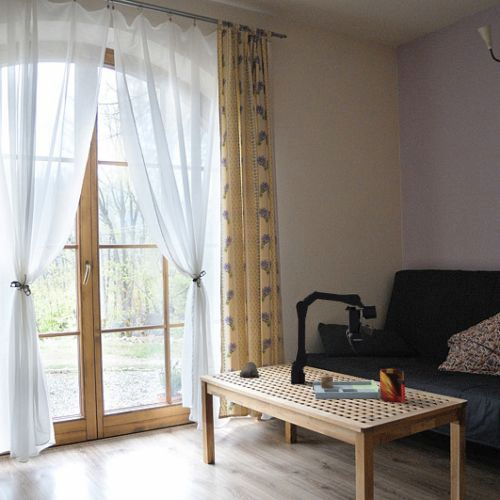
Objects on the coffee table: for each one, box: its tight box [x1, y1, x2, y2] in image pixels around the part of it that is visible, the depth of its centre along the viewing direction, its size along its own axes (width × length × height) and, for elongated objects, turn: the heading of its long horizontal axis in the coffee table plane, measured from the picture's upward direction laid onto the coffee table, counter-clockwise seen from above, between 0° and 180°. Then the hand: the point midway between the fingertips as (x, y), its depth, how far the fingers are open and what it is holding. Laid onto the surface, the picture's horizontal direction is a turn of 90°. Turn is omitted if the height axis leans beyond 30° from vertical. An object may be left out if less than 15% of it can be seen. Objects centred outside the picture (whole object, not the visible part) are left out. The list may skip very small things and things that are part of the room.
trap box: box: [312, 379, 381, 400], centre depth 263 cm, size 28×18×4 cm, turn 88°
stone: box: [239, 361, 259, 378], centre depth 305 cm, size 10×8×10 cm
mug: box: [379, 368, 406, 404], centre depth 249 cm, size 10×14×12 cm
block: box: [320, 374, 334, 388], centre depth 267 cm, size 5×5×5 cm
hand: (354, 352), depth 285 cm, fingers open, 9 cm apart
